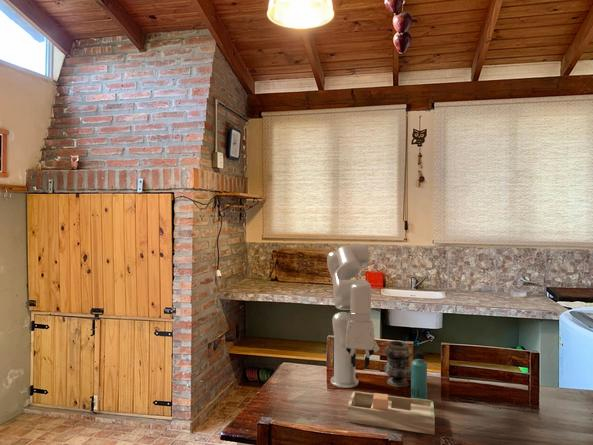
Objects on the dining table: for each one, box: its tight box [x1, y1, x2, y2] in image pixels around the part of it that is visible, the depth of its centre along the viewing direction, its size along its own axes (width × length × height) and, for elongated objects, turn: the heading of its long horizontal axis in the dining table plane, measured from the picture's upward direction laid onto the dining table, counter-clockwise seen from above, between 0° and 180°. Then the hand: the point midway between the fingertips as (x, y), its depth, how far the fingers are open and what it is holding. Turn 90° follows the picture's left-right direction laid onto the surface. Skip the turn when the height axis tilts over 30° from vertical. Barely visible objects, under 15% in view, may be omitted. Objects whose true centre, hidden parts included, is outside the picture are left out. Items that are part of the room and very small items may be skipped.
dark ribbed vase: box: [383, 340, 413, 388], centre depth 183 cm, size 12×12×18 cm
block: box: [373, 392, 389, 411], centre depth 148 cm, size 5×5×5 cm
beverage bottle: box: [410, 350, 428, 400], centre depth 164 cm, size 6×7×20 cm
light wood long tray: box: [346, 390, 436, 436], centre depth 150 cm, size 14×30×6 cm, turn 74°
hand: (360, 366), depth 150 cm, fingers open, 3 cm apart
